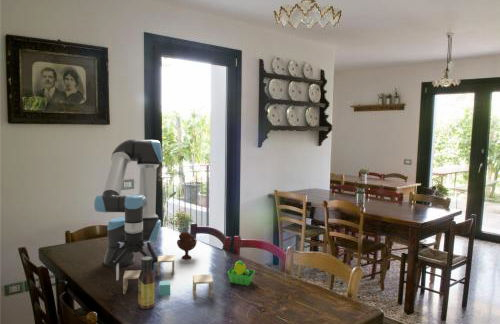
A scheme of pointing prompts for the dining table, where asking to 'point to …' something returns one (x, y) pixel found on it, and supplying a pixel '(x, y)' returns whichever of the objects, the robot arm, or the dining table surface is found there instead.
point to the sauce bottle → (146, 284)
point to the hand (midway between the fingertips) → (133, 278)
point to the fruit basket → (240, 274)
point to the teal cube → (164, 288)
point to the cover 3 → (202, 280)
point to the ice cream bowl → (186, 243)
